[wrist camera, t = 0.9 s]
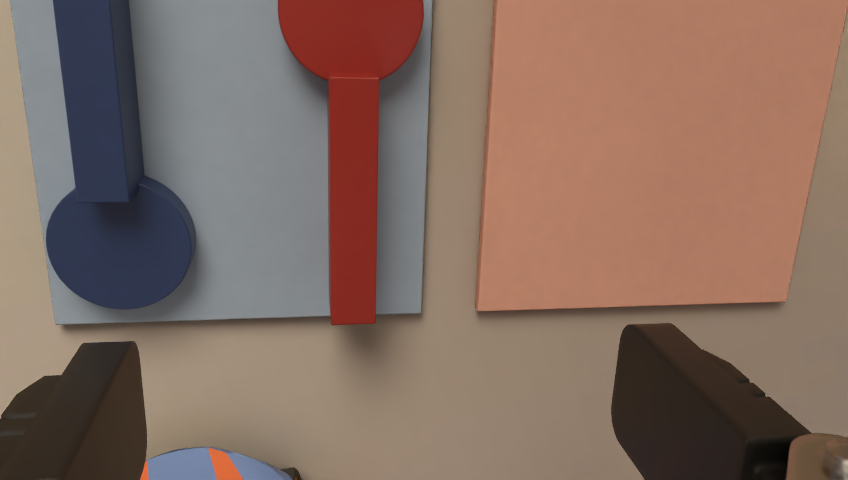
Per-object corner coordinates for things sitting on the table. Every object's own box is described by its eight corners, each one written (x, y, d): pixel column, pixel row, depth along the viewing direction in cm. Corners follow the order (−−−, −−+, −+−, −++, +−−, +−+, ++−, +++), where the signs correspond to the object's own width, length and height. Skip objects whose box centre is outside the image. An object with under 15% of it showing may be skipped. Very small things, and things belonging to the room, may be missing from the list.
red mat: (499, -89, 22) (502, -90, 22) (855, -69, 24) (864, -70, 23) (475, 307, 26) (477, 311, 26) (780, 297, 28) (786, 302, 28)
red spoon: (276, -68, 21) (273, -75, 19) (421, -61, 21) (434, -67, 19) (286, 298, 24) (285, 327, 22) (410, 295, 25) (419, 322, 23)
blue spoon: (200, 295, 24) (190, 324, 22) (64, 299, 23) (41, 328, 21) (174, -81, 20) (159, -89, 18) (13, -89, 20) (-22, -99, 18)
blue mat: (-1, -117, 20) (-8, -119, 19) (434, -92, 22) (436, -94, 21) (58, 320, 24) (54, 325, 23) (419, 309, 26) (421, 313, 25)
